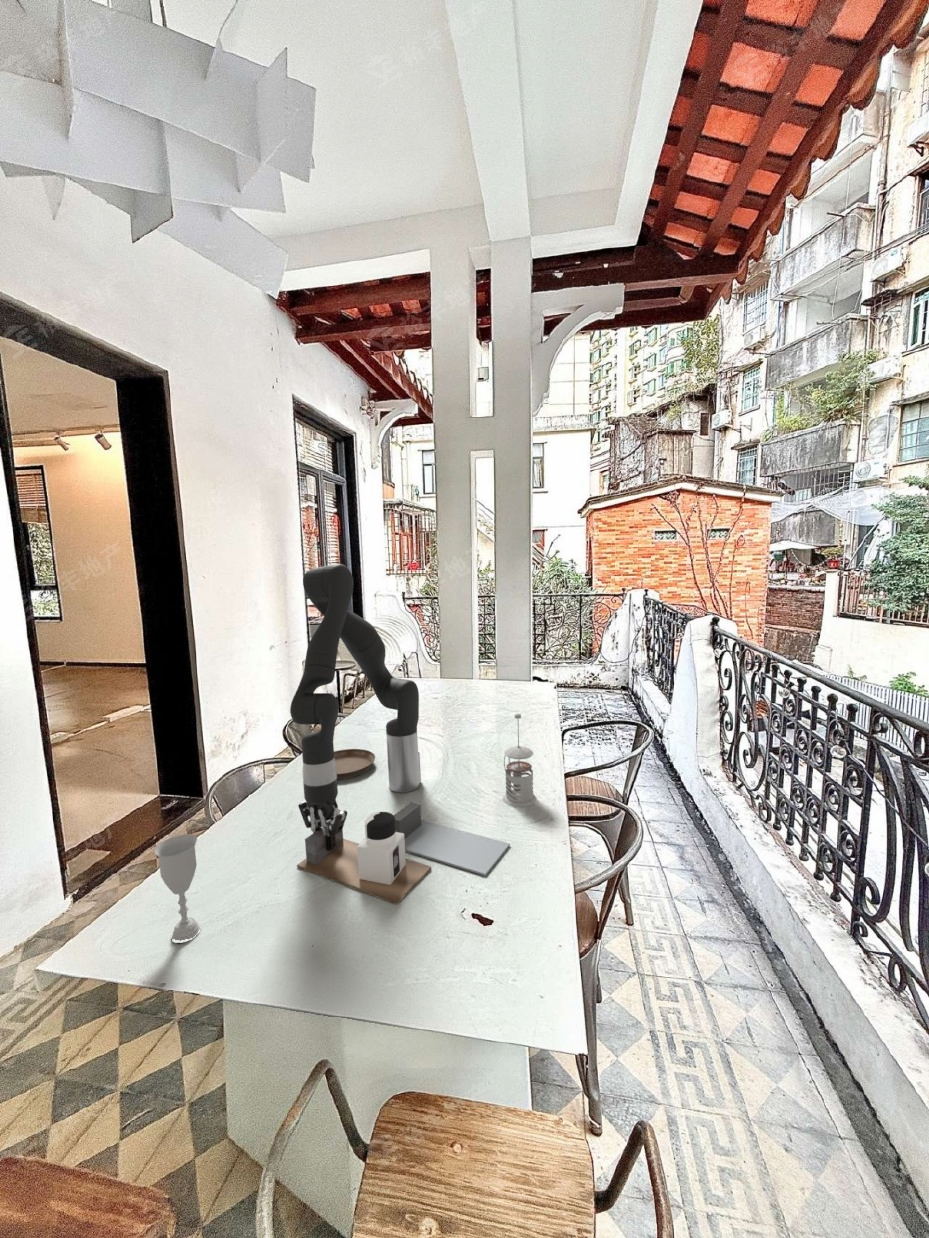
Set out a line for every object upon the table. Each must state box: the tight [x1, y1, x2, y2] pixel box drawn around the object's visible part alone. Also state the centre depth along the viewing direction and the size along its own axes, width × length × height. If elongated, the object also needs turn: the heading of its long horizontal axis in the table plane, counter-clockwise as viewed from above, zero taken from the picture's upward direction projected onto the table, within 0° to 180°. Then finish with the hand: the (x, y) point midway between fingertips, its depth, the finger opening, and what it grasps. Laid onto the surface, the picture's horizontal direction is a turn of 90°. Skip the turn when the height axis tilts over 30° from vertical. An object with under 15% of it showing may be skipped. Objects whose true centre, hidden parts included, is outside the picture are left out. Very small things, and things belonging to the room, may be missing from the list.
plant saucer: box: [334, 748, 376, 780], centre depth 170 cm, size 21×21×3 cm
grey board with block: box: [392, 801, 511, 877], centre depth 123 cm, size 13×28×6 cm, turn 61°
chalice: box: [154, 833, 201, 941], centre depth 96 cm, size 7×7×18 cm
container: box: [357, 811, 407, 885], centre depth 112 cm, size 8×8×13 cm
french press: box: [502, 713, 538, 808], centre depth 145 cm, size 10×12×25 cm
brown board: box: [296, 825, 432, 905], centre depth 115 cm, size 13×28×6 cm, turn 61°
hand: (325, 846), depth 121 cm, fingers closed on brown board, 3 cm apart
